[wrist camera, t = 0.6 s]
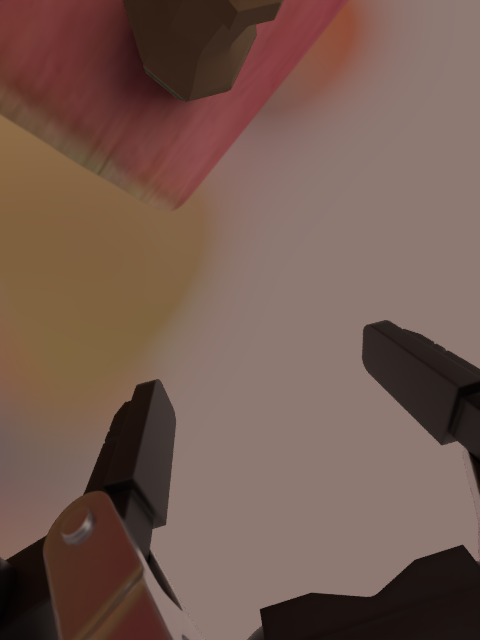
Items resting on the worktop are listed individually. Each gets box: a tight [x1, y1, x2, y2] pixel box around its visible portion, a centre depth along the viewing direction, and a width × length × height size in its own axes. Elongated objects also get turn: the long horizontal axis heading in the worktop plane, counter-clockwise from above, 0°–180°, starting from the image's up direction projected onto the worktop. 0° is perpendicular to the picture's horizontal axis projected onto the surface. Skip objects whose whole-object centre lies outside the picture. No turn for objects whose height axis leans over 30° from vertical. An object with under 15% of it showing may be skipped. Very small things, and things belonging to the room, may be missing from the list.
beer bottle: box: [123, 0, 284, 102], centre depth 14 cm, size 8×8×24 cm
